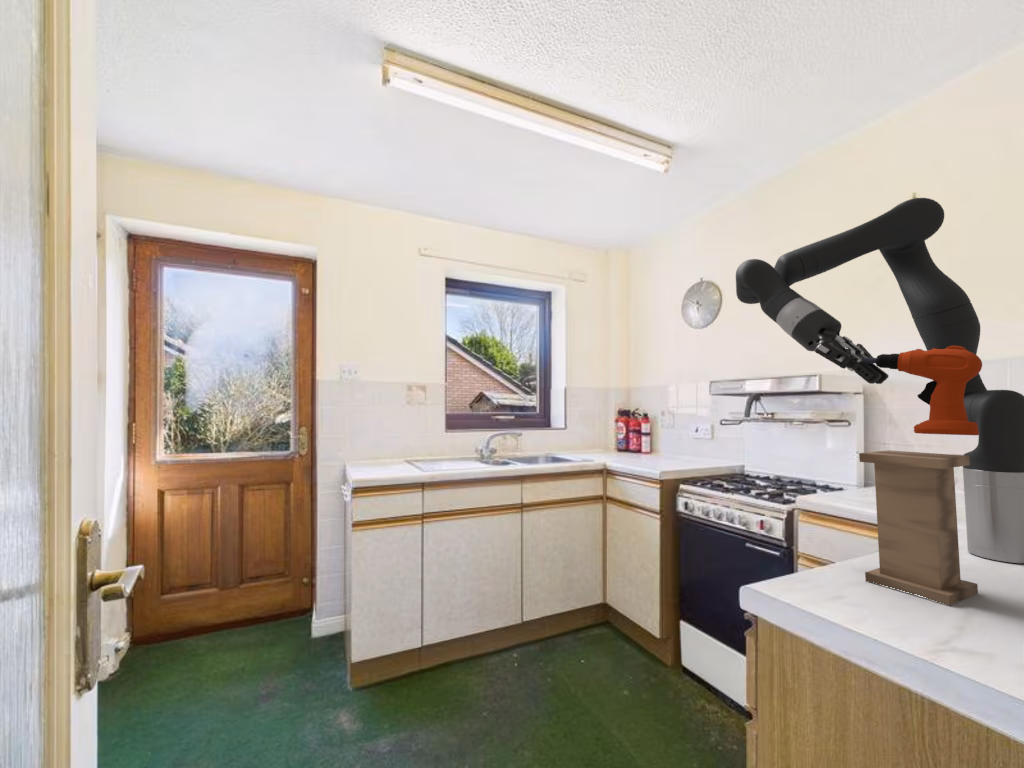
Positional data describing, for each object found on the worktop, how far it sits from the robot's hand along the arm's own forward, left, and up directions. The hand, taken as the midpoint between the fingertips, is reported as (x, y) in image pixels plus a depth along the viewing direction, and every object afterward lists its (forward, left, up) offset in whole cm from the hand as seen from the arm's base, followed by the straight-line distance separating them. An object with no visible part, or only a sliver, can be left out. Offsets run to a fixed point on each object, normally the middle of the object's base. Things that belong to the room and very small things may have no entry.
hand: (880, 380), depth 80 cm
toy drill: (0, +4, -9) cm, 10 cm away
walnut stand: (0, +4, -35) cm, 35 cm away
